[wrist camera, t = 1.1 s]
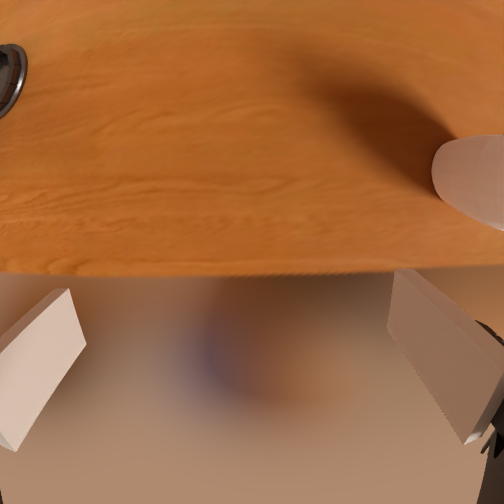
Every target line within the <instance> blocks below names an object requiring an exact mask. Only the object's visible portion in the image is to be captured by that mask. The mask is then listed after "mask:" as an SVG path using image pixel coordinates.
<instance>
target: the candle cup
mask: <svg viewBox="0 0 504 504" xmlns="http://www.w3.org/2000/svg"><path fill="white" fill-rule="evenodd" d="M27 67H28V62H27V56H26V53H25V51H24V49H23V48H22V47H20V46H18V45H16V44H7V45H0V119H1V118H2V117H4V116H5V115H6V114H7V113H8V112H9V111H10V110H11V108H12V107H13V106H14V104H15V103H16V101H17V99H18V97H19V95H20V93H21V91H22V88H23V86H24V83H25V79H26V75H27Z"/></svg>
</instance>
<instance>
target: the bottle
mask: <svg viewBox="0 0 504 504" xmlns="http://www.w3.org/2000/svg"><path fill="white" fill-rule="evenodd" d="M431 171H432V181H433V184H434V187H435V190H436V192H437V194H438V195H439V197H440V198H441V199H442V200H443V201H445V202H446V203H447V204H449V205H451V206H452V207H454V208H455V209H457V210H459V211H460V212H462V213H463V214H465V215H467V216H469V217H471V218H473V219H475V220H478V221H480V222H482V223H484V224H486V225H488V226H491V227H493V228H495V229H499V230H503V231H504V134H493V135H477V136H468V137H464V138H460V139H456V140H452V141H449V142H447V143H445V144H443V145H442V146H441V147H440V148H439V149H438V150H437V152H436V154H435V157H434V159H433V163H432V170H431Z"/></svg>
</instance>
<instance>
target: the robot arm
mask: <svg viewBox="0 0 504 504" xmlns="http://www.w3.org/2000/svg"><path fill="white" fill-rule="evenodd" d="M387 331H388V332H389V334H390V335H391V337H392V338H393V339H394V341H395V342H396V344H397V345H398V346H399V348H400V349H401V351H402V352H403V354H404V355H405V356H406V358H407V359H408V361H409V362H410V364H411V365H412V366H413V368H414V369H415V370H416V372H417V374H418V375H419V376H420V378H421V380H422V381H423V382H424V384H425V385H426V387H427V389H428V390H429V392H430V393H431V395H432V396H433V397H434V399H435V401H436V402H437V404H438V405H439V407H440V408H441V410H442V412H443V413H444V415H445V416H446V418H447V419H448V421H449V423H450V424H451V426H452V427H453V429H454V431H455V432H456V434H457V435H458V437H459V439H460V440H461V442H462V444H463V445H465V444H466V443H469V442H471V441H473V440H475V439H478V438H479V437H482V436H483V434H484V432H485V430H486V429H487V428H488V426H489V424H490V423H492V425H493V426H494V427H495V430H494V432H493V433H492V435H491V436H490V438H489V439H488V441H487V442H486V444H485V445H484V447H483V448H482V450H481V453H482V454H483V453H484V452H485V450H486V449H487V448H488V446H489V452H488V458H487V463H486V468H485V472H484V477H483V481H482V485H481V489H480V493H479V497H478V501H477V504H504V340H503V339H502V338H501V337H499V336H497V334H496V333H495V332H494V331H493V330H492V329H491V328H489V327H488V326H487V325H485V324H483V323H481V322H479V321H477V320H474V319H473V318H471V317H470V316H469V315H468V314H467V313H466V312H465V311H463V310H462V309H461V308H460V307H459V306H457V305H456V304H455V303H454V302H453V301H452V300H450V299H449V298H448V297H447V296H446V295H444V294H443V293H442V292H441V291H439V290H438V289H437V288H436V287H434V286H433V285H432V284H431V283H429V282H428V281H427V280H426V279H425V278H423V277H422V276H421V275H420V274H418V273H417V272H416V271H414V270H413V269H412V268H406V269H396V270H395V275H394V283H393V291H392V299H391V306H390V312H389V320H388V325H387ZM85 345H86V342H85V339H84V336H83V333H82V330H81V327H80V324H79V321H78V318H77V315H76V311H75V308H74V305H73V301H72V298H71V295H70V291H69V288H57V289H54V290H53V291H52V292H51V293H49V294H48V295H47V296H46V297H45V298H44V299H42V300H41V301H40V302H39V303H38V304H37V305H35V306H34V307H33V308H32V309H31V310H30V311H29V312H27V314H25V315H24V316H23V317H22V318H21V319H20V320H19V321H18V322H16V323H15V324H14V325H13V326H12V327H11V328H10V329H9V330H8V331H7V332H6V333H5V334H4V335H2V336H1V337H0V445H1V446H3V447H5V448H7V449H10V450H12V451H14V452H16V451H17V450H18V448H19V446H20V444H21V443H22V441H23V439H24V438H25V436H26V434H27V433H28V431H29V429H30V428H31V426H32V424H33V423H34V421H35V420H36V418H37V416H38V415H39V413H40V412H41V410H42V408H43V407H44V405H45V404H46V402H47V401H48V399H49V398H50V396H51V395H52V393H53V392H54V390H55V389H56V387H57V385H58V384H59V383H60V381H61V380H62V378H63V377H64V375H65V374H66V372H67V371H68V369H69V368H70V367H71V365H72V364H73V362H74V361H75V359H76V358H77V357H78V355H79V354H80V352H81V351H82V350H83V348H84V347H85ZM0 504H3V501H2V496H1V491H0Z"/></svg>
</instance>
